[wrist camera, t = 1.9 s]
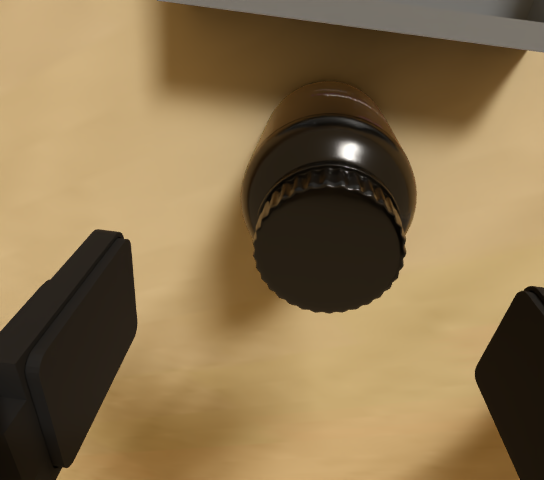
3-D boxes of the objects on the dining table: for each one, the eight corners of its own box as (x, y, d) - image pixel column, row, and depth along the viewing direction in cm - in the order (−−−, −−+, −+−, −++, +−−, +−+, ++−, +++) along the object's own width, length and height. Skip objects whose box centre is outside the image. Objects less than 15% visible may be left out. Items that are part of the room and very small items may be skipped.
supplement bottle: (378, 63, 20) (445, 125, 10) (391, 186, 24) (451, 326, 13) (249, 94, 22) (192, 176, 12) (277, 206, 25) (253, 348, 15)
